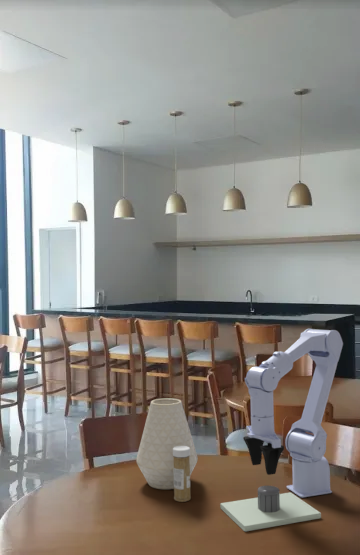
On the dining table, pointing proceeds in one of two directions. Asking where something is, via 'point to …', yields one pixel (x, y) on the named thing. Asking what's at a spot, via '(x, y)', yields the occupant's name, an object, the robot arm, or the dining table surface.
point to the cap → (268, 499)
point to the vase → (164, 442)
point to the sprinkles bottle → (181, 473)
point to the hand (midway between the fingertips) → (263, 469)
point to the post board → (253, 518)
